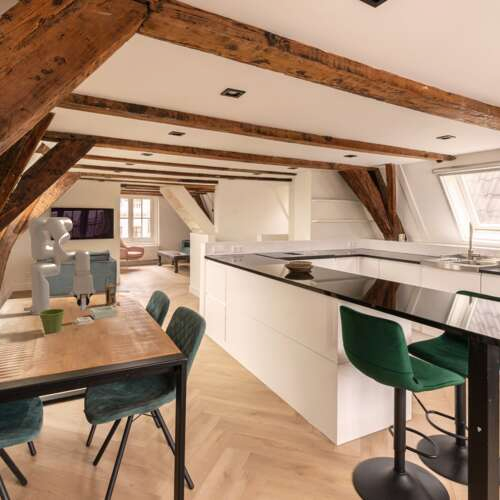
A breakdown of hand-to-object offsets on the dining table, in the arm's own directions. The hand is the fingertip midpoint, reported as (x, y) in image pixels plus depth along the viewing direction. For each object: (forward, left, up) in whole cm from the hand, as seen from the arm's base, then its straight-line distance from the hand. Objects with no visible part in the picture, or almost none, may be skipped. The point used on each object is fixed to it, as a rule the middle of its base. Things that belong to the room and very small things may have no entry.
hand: (83, 305), depth 203 cm
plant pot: (-17, -10, -11) cm, 22 cm away
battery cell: (0, 0, -3) cm, 3 cm away
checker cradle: (0, 0, -10) cm, 10 cm away
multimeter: (+27, +35, -11) cm, 46 cm away
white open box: (+12, +7, -10) cm, 17 cm away
